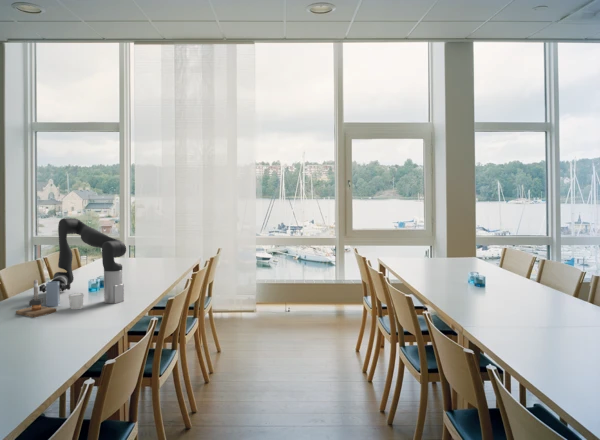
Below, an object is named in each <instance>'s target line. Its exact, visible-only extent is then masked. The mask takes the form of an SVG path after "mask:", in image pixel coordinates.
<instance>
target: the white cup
mask: <svg viewBox="0 0 600 440" xmlns="http://www.w3.org/2000/svg"><path fill="white" fill-rule="evenodd" d="M84 296H85V294H84V293H83V292H77V293H76V292H75V293H70V294H69V295H68V301H69V309H71V310H79V309H82V308H83V307H84Z"/></svg>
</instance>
